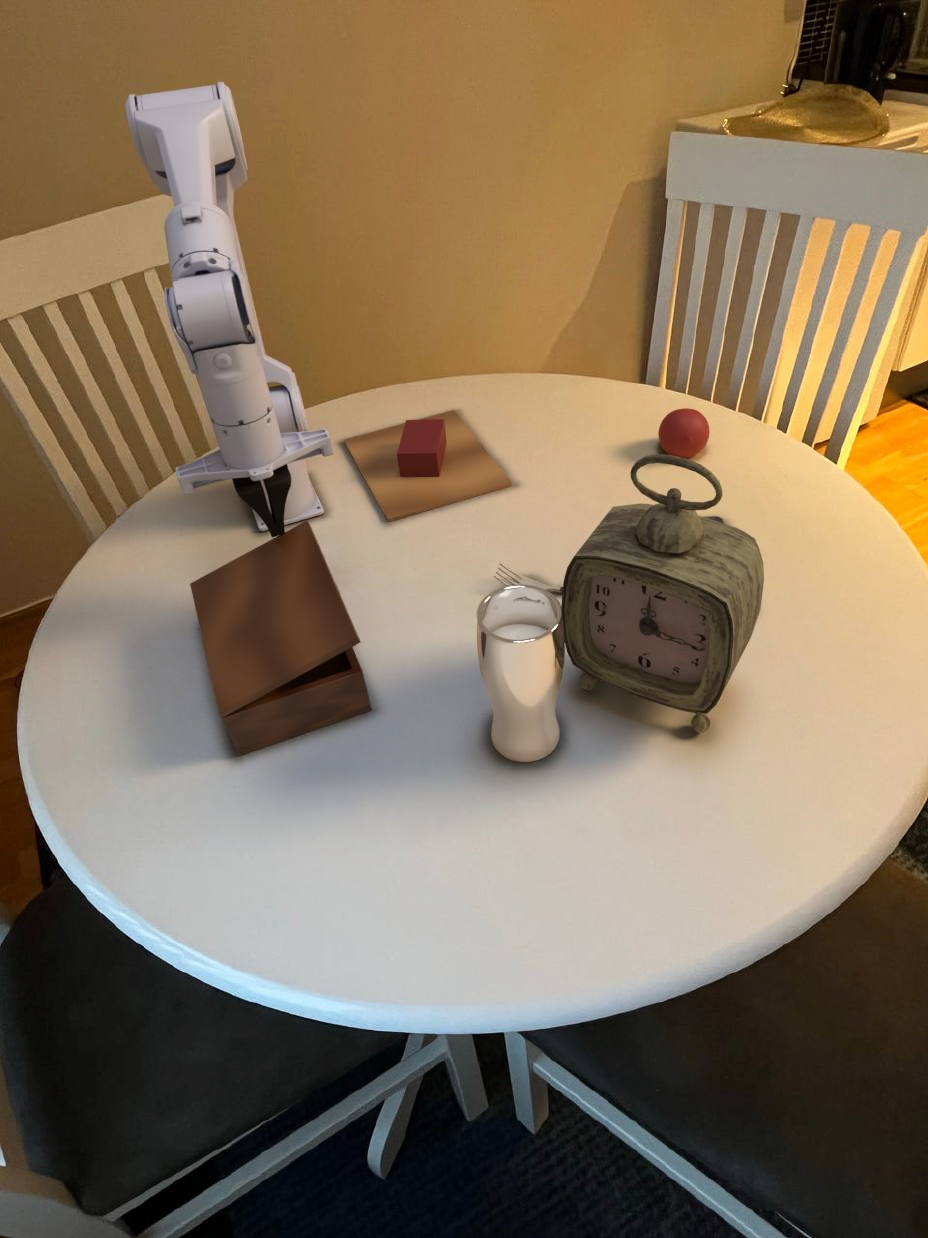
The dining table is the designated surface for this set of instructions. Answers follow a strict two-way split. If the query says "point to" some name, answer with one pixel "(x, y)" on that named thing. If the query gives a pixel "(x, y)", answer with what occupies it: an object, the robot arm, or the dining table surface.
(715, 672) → the tabletop clock
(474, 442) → the wooden board
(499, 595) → the beer glass
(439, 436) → the dark-red plain block
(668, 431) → the fruit
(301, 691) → the chest
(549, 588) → the fork
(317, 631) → the lid
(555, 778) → the dining table surface
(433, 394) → the dining table surface
